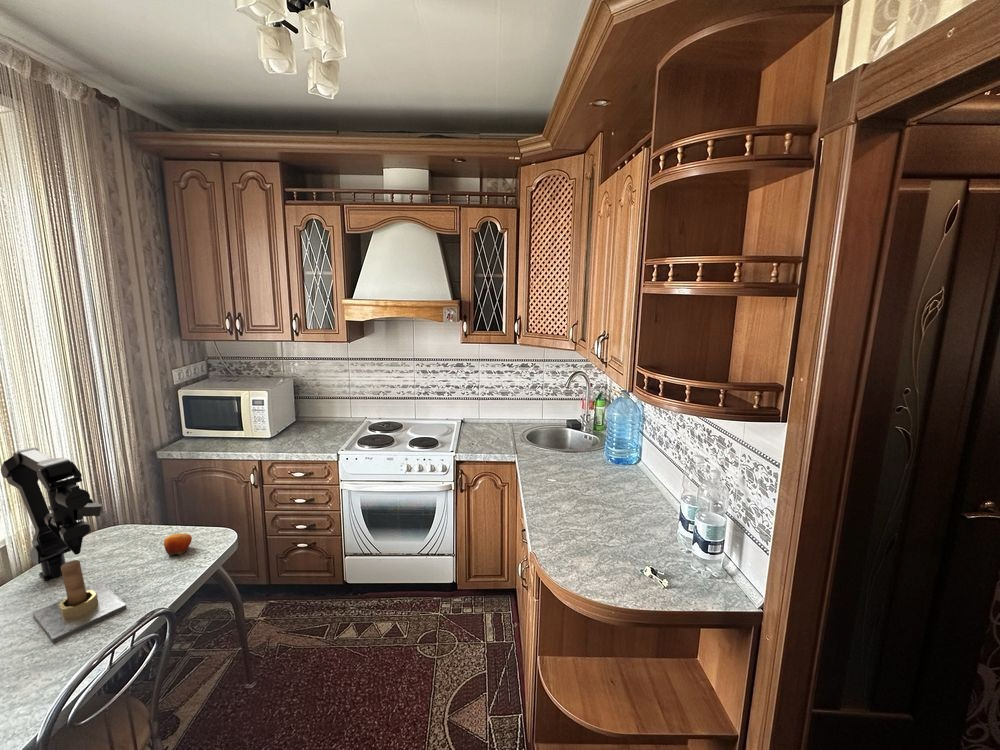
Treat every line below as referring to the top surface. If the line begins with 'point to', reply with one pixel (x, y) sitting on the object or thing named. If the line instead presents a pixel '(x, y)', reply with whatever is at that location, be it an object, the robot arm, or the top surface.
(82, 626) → the cup bracket
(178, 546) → the fruit
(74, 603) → the rail post
